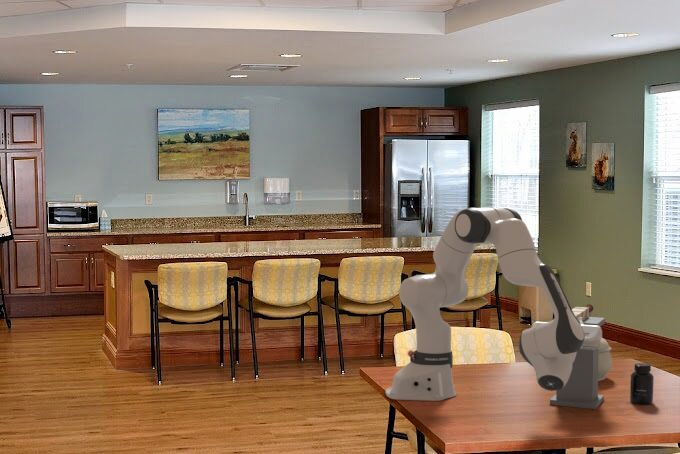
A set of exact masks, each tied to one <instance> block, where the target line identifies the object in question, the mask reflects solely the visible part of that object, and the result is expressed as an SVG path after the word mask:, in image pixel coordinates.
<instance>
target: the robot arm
mask: <svg viewBox="0 0 680 454" xmlns="http://www.w3.org/2000/svg"><path fill="white" fill-rule="evenodd" d="M479 244H480V245H493V246H494V248H495V252H496V256H497V261H498V265H499V268H500V271H501V273H502V276H503V277H504V279H505V280H507V281H508V282H510V283H511V284H513V285H516V286H520V287H521V286H523V287H534V288H539V289H541V290H542V291H543V293H544V295H545V297H546V300H547V301H548V304H549V306H550V308H551V310H552V311H551V312H552V313H553V316H554V318H553V319H554V320H553V319H552V320H553V321H551V320H550V321H548V322H547V321H546V322H545V321H534V322H533V323H532V325H531V327H530V328H527V329H524V330H523V331H522V332H521V334H520V336H519V340H518V350H519V353H520V355H521V356H522V358H523V360H524V361H525V362H527V364H529V365H530V366H531V367H533V369H534V372H535V376H536V381H537V384H538V386H539V387H540V388H542V389H544V390H546V391H550V392H553V391H554V392H556V390H559V389H562V388H563V387H564V386H565V385H566V383H567V382H568V380H569V377H570V374H571V371H572V364H573V362H574V360H575V357H576V354H577V351H578V350H594V349H598V348H599V346H600V341H601V338H603V329H602V327H601V326H595V325H584V323H583V322H582V317H577V318H576V317H575V315H574V313H573V311H572V309H573V308H572V306H571V305H570V302H569V300H568V298H567V296H566V294H565V292H564V289H563V287H562V285H561V282H560V281H559V278H558V276H557V275H556V273H555V272H554V270H553V268H552V267H551V266H550V265H549V264H547V263H543V262H542V260H541V259H540V257H539V256H538V253H537V250H536V249H537V248H536V247H535V243H534V240H533V238H532V235H531V233H530V231H529V228H528V227H527V224H526V223H525V222H524V221H523V219H522V217H521V215H520V213H518V212H517V211H516V210H515V209H514V210H513V209H510V208H503V207H502V208H501V207H495V206H494V207H493V206H488V207H468V208H464V209H460V210H458V211H456V212H455V214H454V215H453V217H451V219H450V220H449V222H448V224H447V225H446V227H445V228H444V230H443V232H442V234H441V237H440V238H439V240H438V243H437V244H436V246H435V248H434V251H433V252H432V254H433V255H432V259H433V261H434V263H435V265H436V266H437V268H436V270H435V271H434V272H432V273H427V274H426V273H425V274H417V275H414V276H413V275H412V276H411V277H408V278H405V279H404V280H403V281H401V283H400V286H399V290H398V294H399V295H398V296H399V299H400V301H401V303H402V305H403V306H404V307H406V308H407V310H408V311H409V312H410V314H411V316H412V318H413V321H414V325H415V331H416V332H415V333H416V349H415V350H414V351H413V350H412V349H410V350H409V349H408V351H407V356H408V357H409V360H410V362H408V363H407V364H406V365H405V366H403V367H402V368H401V369H399V370H397V372H395V374H394V376H393V378H392V379H393V380H392V384H391V385H392V386H389V387H388V388H386V389H385V396H386V397H388V398H389V399H391V400H401V401H402V400H403V401H427V402H428V401H431V402H432V401H433V402H434V401H435V402H440V401H443V400H445V399H450V398H454V397H455V396H456V395H457V393H456V390H455V386H454V380H453V379H454V378H453V373H452V372H453V371H452V370H453V364H454V362H453V361H454V354H453V351H452V328H451V325H450V324H449V323H448V322H447V321H445V320H443V318H442V316H441V311H440V308H447V307H453V306H455V305H458V304H460V303H462V302H465V300H466V299H467V297H468V295H469V290H470V289H469V284H468V281H467V279H466V278H465V272H466V269H467V266H468V264H469V261H470V260H471V258H472V256H473V255H474V251H475V249H476V247H477V246H478V245H479Z"/></svg>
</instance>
